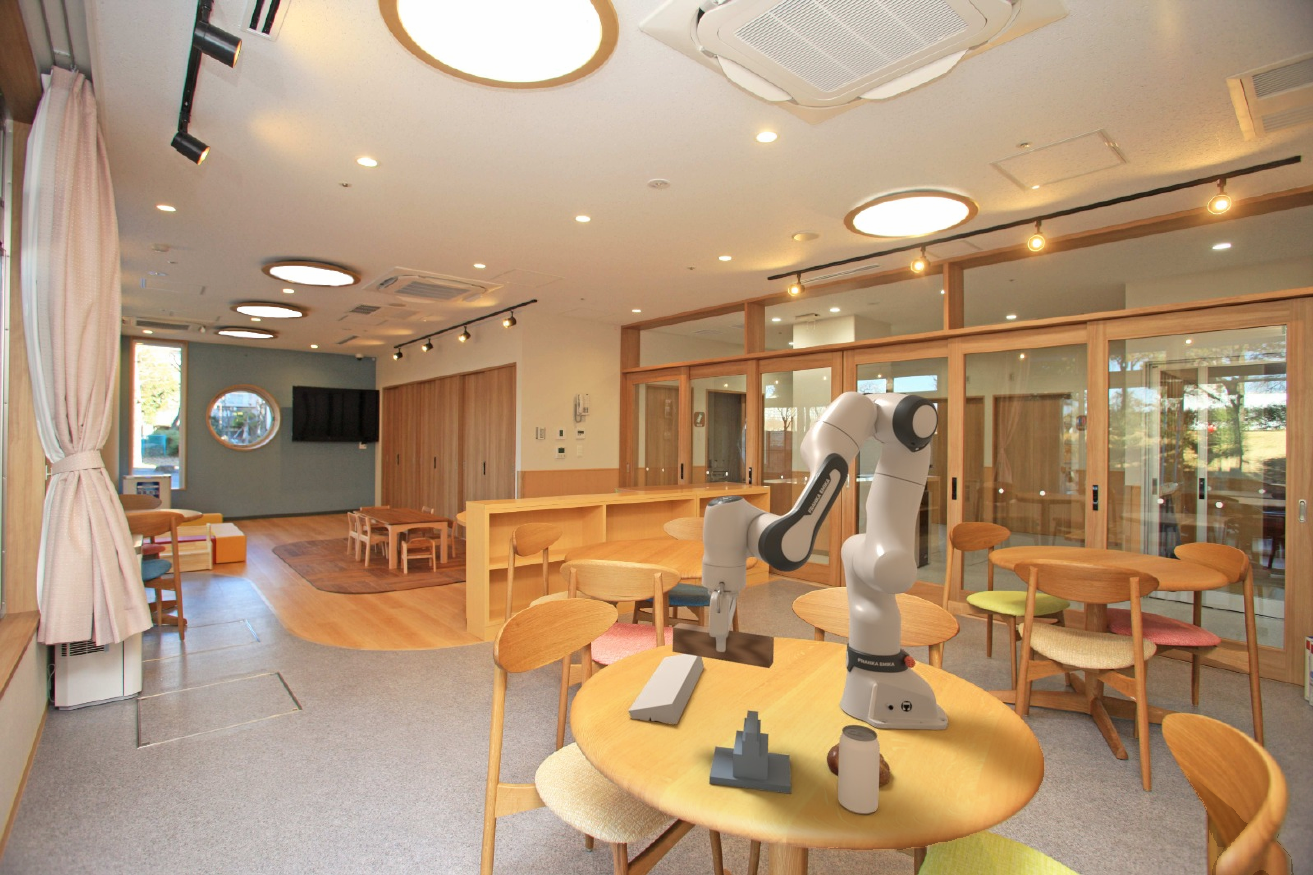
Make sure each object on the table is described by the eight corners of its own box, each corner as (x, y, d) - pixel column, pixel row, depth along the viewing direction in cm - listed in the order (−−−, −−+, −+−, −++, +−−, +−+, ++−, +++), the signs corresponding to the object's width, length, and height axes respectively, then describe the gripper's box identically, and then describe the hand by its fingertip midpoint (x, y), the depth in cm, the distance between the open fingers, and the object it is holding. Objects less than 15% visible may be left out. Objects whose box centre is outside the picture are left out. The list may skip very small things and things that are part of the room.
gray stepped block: (789, 761, 118) (790, 712, 118) (790, 793, 107) (791, 740, 107) (715, 752, 121) (716, 705, 121) (709, 783, 110) (710, 731, 110)
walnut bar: (773, 662, 123) (773, 637, 123) (769, 668, 120) (769, 642, 120) (678, 646, 131) (679, 622, 131) (672, 651, 128) (673, 627, 128)
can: (873, 820, 100) (875, 745, 100) (833, 807, 104) (834, 734, 104) (882, 801, 106) (884, 730, 106) (843, 788, 109) (845, 720, 109)
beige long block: (633, 733, 135) (677, 726, 132) (628, 710, 135) (672, 703, 133) (668, 675, 168) (704, 669, 165) (664, 657, 168) (700, 651, 166)
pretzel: (906, 783, 112) (906, 762, 112) (858, 795, 108) (858, 774, 108) (859, 751, 123) (860, 732, 123) (814, 761, 119) (815, 741, 119)
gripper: (736, 590, 115) (734, 666, 115) (742, 568, 135) (741, 632, 135) (701, 588, 116) (700, 663, 116) (713, 566, 136) (711, 629, 136)
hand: (722, 646), depth 125 cm, fingers closed on walnut bar, 4 cm apart
